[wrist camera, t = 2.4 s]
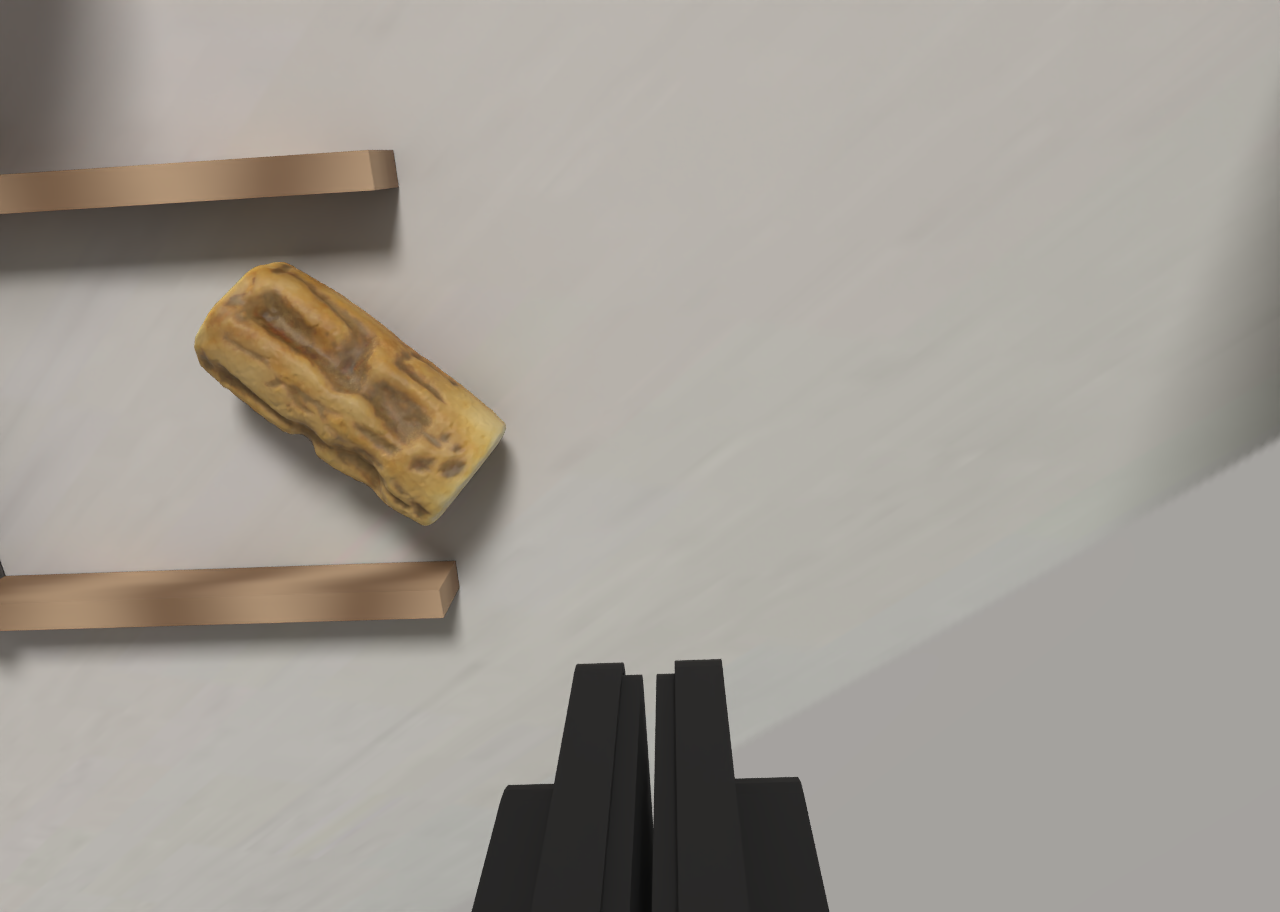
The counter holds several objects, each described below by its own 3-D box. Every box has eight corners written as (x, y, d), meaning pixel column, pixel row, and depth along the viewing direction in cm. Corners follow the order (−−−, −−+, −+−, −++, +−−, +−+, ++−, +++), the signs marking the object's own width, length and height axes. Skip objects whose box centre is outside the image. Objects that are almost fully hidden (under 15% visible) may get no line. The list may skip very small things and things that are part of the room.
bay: (372, 12, 22) (290, -25, 18) (459, 586, 28) (415, 673, 24) (-248, 60, 24) (-478, 37, 19) (-40, 602, 30) (-176, 687, 25)
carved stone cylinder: (233, 348, 26) (157, 383, 22) (298, 240, 25) (230, 258, 21) (451, 501, 28) (415, 558, 24) (524, 406, 26) (497, 451, 23)
